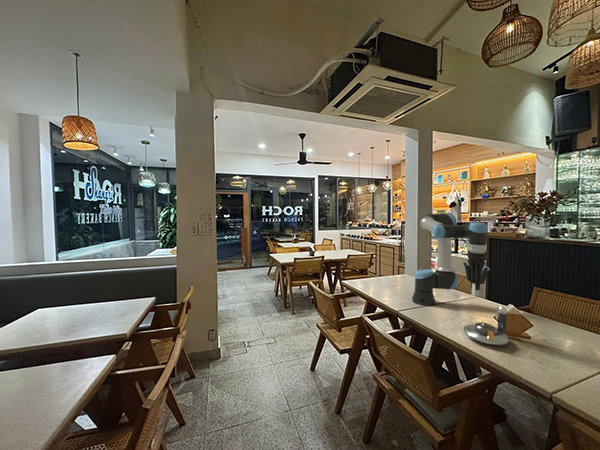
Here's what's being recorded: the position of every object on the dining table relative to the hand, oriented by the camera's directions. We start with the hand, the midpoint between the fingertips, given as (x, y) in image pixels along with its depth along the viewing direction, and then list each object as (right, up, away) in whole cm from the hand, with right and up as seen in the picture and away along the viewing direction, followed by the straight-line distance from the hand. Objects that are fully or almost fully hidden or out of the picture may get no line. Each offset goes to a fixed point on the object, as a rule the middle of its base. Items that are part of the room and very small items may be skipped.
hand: (474, 295), depth 127 cm
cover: (+1, -17, -6) cm, 18 cm away
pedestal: (+1, -21, -6) cm, 22 cm away
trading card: (-2, -21, +8) cm, 23 cm away
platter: (+1, -19, -6) cm, 20 cm away
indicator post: (+10, -21, -3) cm, 23 cm away
